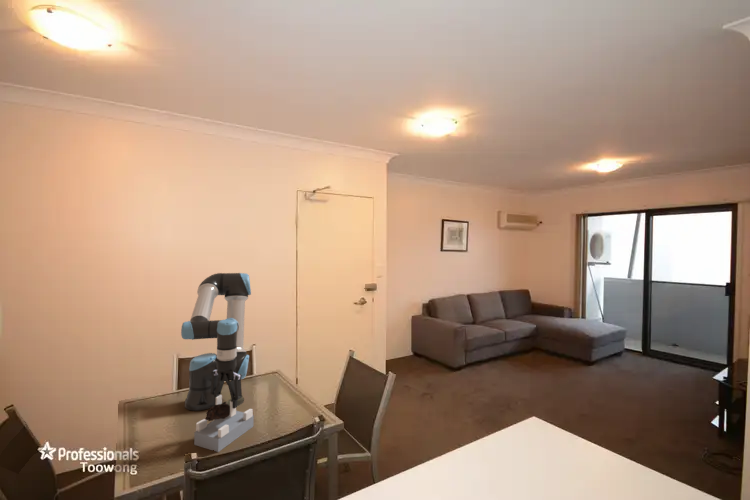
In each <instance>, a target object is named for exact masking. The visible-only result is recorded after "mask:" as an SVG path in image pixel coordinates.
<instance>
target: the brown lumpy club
mask: <svg viewBox="0 0 750 500" xmlns="http://www.w3.org/2000/svg"><path fill="white" fill-rule="evenodd" d="M231 400H232V399H231V398H228V400H225V401H224V402H222V404H218V405H215V406H214V407H211V408H209V409H207V411H206V413H205V414H206V415H205V418H204V419H206V420H207V422H210V421H211V422H212V421H214V420H216V419H225V418H226V417H228V416H229V415H230V401H231ZM244 402H245V398H244V396H243V395H242V398H240V399H238V400H237V407H238V406H239V407H240V406H241V405H242V404H244Z"/></svg>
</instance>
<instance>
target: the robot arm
mask: <svg viewBox="0 0 750 500" xmlns="http://www.w3.org/2000/svg"><path fill="white" fill-rule="evenodd" d="M251 290H252V289H251V281H250V274H248V273H245V272H244V273H243V272H228V273H227V272H226V273H225V272H224V273H222V272H217V273H214V274H211V275H209V276H208V277H205V279H204V280H202V281H201V282H200V284H199V285H198V288H197V293H196V294H197V295H198V296H197V298H196V301H195V304H194V308H193V311H192V313H191V317H190V320H188V321H184V322H182V325H181V332H180V336H181V338H182V339H183V340H192V341H193V340H204V339H205V340H206V339H207V340H209V339H216V353H212V352H208V353H204V354H203V353H202V354H200V355H196V356H194V357H193V358H192V359H191V360H190V362H189V369H188V371H189V376H188V377H189V380H188V381H189V383H188V384H189V386H188V387H189V388H188V393H187V396H186V398H185V401H184V408H185V409H186V410H189V411H192V412H193V411H194V412H195V411H197V412H198V411H205V410H210V409H211V407H214V406H215V405H218V404H222V403H223V395H222V390H223V387H224V384H226V385H227V386H228V390H229V394H230V399H232V400H231V401H230V417H232V416H234V415H235V414H236V411H237V408H238V406H237V400H238V399H240V398H242V396H243V392H242V380H244V379H245V378H246V376H247V373H248V368H249V360H250V355H249V354H247V350H246V349H245V348H244V344H245V343H244V342H245V341H244V340H245V339H244V338H245V309H246V301H247V300H248V299H249V296H251V295H252V291H251ZM218 296H224V300H225V301H226V304H227V307H226V318H225V319H220V320H219V319H218V320H211V315H212V310H213V307H214V303H215V299H216V298H217V297H218Z"/></svg>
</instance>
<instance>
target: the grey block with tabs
mask: <svg viewBox="0 0 750 500" xmlns="http://www.w3.org/2000/svg"><path fill="white" fill-rule="evenodd" d="M253 413H254V409H253V408H248V409H247V410H245V411H239V410H236V414H235V415H234V416H232V417H230V415H229V416H228V417H226V418H225V419H216V420H213V421H211V422H210V421H209V423H208V420H206V419H205V418H203V419H201V420H199V421H197V422H196V424H195V431H194V437H193V438H194V440H193V441H194V443H193V444H194V446H198V447H200V448H204V449H207V450H210V451H213V450H214V452H217V453H220V452H221V451H222V450H224V449H225V448H226V447H227V446H229V445H230V444H232V443H233V442H234V441H236V440H237V439H238V438H239V437H241V436H242V435H243V434H244V435H245V433H247V431H249V430H251V429H252V428H253V427H254V423H255V422H254V418H255V416H254V414H253Z"/></svg>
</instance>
